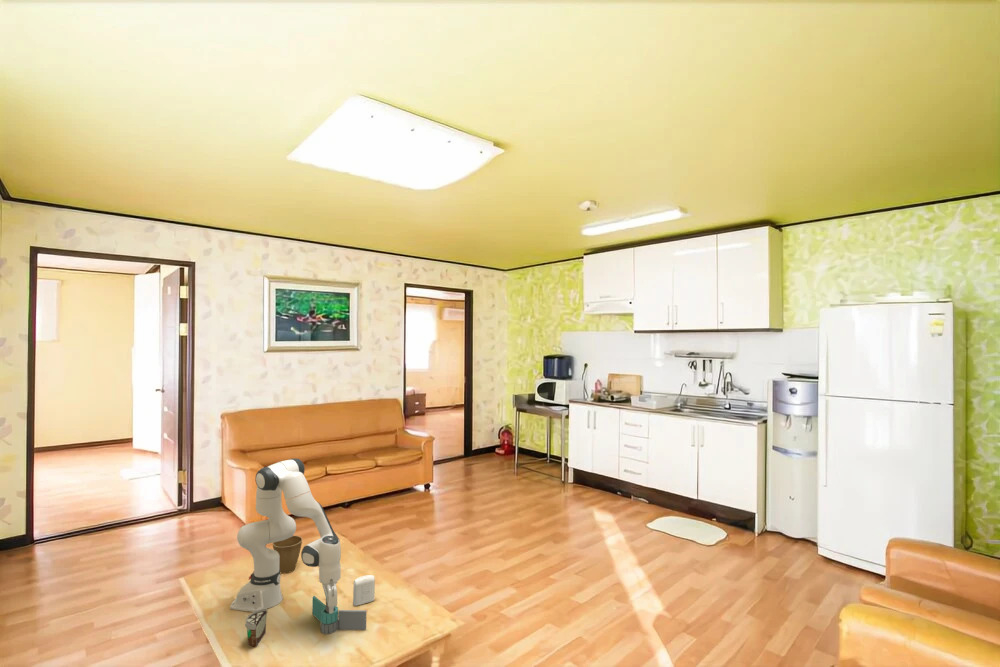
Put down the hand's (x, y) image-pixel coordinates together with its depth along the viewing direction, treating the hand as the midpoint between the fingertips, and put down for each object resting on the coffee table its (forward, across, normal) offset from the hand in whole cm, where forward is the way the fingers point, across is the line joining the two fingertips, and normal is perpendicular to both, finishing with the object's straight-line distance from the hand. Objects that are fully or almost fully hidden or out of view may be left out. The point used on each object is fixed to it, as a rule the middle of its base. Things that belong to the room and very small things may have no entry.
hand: (329, 607), depth 210 cm
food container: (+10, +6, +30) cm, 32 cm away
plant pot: (+10, +67, +13) cm, 69 cm away
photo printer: (+10, +16, -18) cm, 26 cm away
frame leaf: (+10, -3, -6) cm, 11 cm away
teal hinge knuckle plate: (+9, +6, +2) cm, 11 cm away
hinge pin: (+10, 0, 0) cm, 10 cm away
